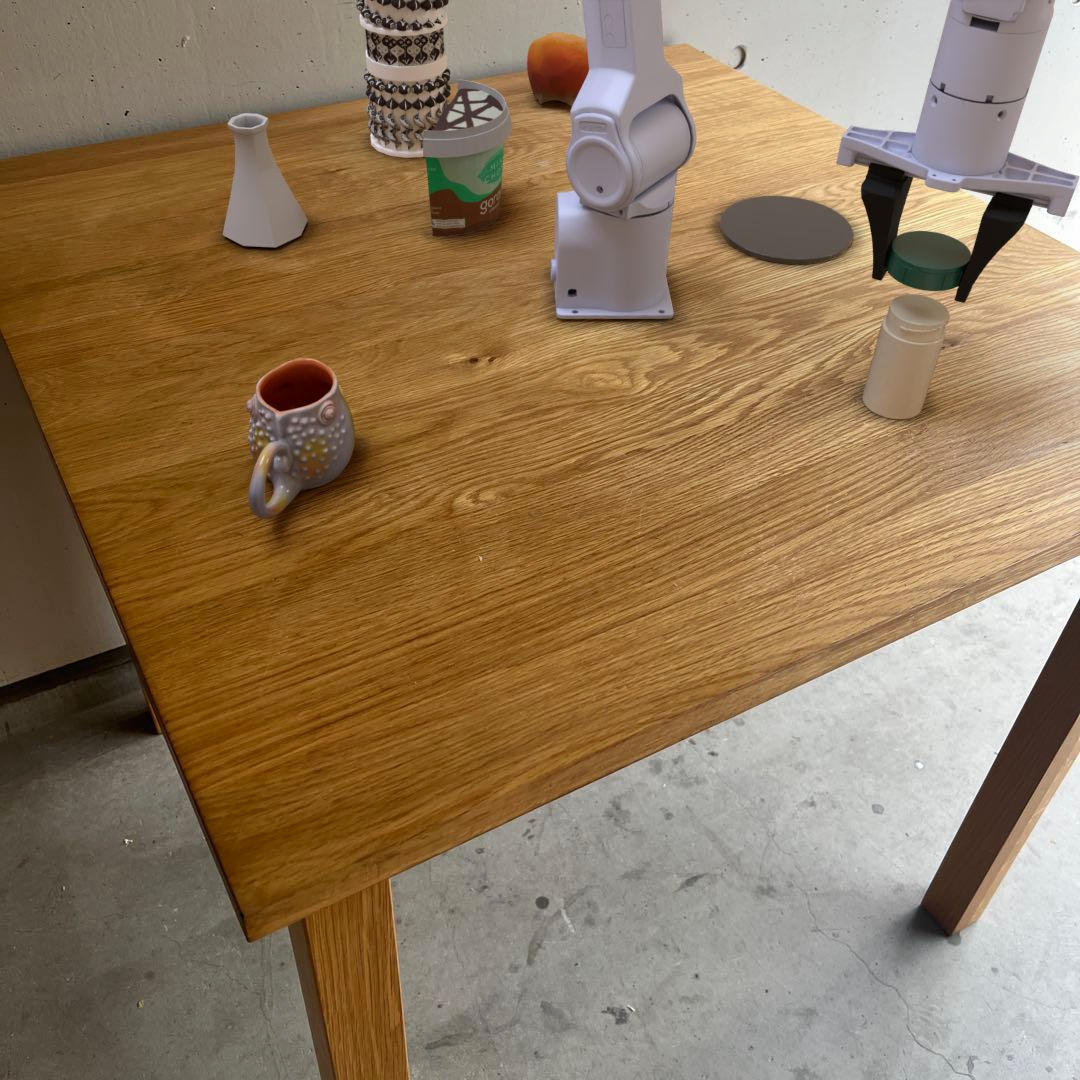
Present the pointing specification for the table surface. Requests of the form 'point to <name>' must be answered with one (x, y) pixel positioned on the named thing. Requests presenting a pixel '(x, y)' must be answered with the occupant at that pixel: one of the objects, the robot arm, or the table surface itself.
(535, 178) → the table surface
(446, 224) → the food container
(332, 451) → the mug
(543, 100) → the fruit
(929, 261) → the lid
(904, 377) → the jar
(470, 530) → the table surface
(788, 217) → the coaster
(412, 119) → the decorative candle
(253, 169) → the flask
